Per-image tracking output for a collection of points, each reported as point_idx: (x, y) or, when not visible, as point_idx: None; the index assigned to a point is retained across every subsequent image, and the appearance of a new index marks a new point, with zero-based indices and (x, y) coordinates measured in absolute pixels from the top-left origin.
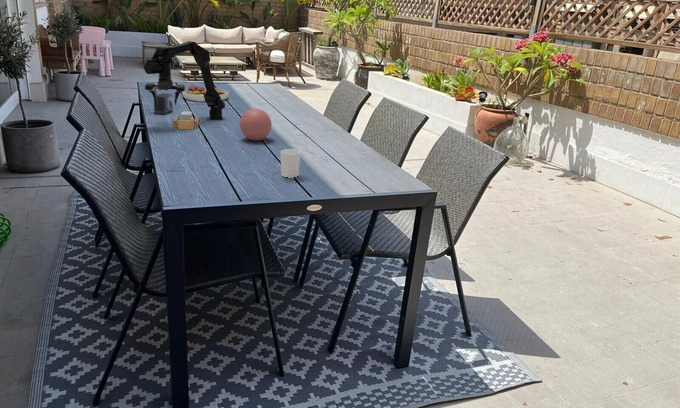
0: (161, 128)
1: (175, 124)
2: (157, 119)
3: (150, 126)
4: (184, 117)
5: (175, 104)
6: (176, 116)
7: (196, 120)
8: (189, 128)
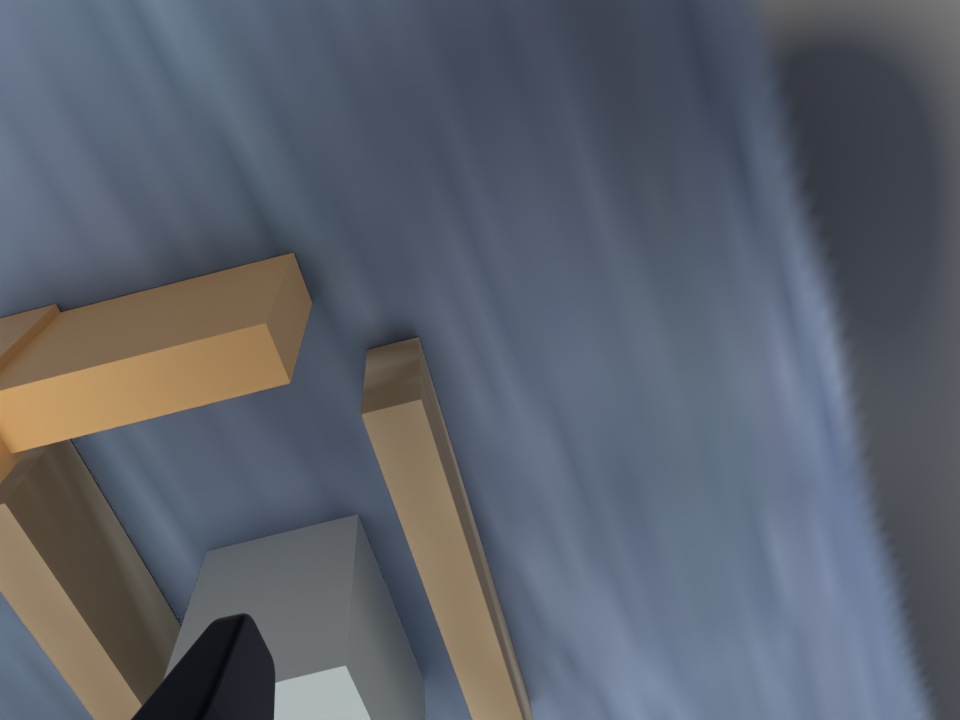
0: (607, 220)
1: (380, 374)
2: (801, 693)
3: (828, 302)
4: (287, 632)
5: (213, 627)
6: (500, 707)
7: (15, 582)
8: (76, 312)
